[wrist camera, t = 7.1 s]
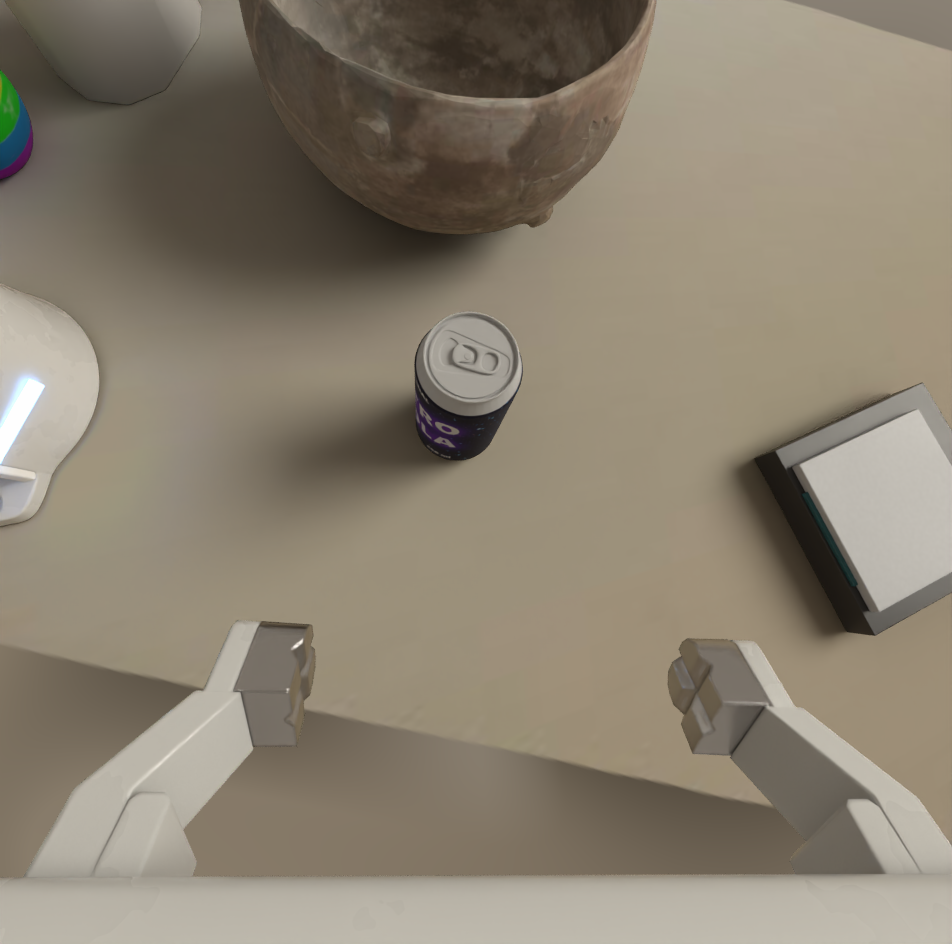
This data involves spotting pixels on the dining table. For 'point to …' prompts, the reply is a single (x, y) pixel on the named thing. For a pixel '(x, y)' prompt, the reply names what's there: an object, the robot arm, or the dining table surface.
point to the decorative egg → (13, 130)
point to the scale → (872, 507)
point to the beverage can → (464, 383)
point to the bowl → (451, 98)
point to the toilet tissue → (112, 43)
